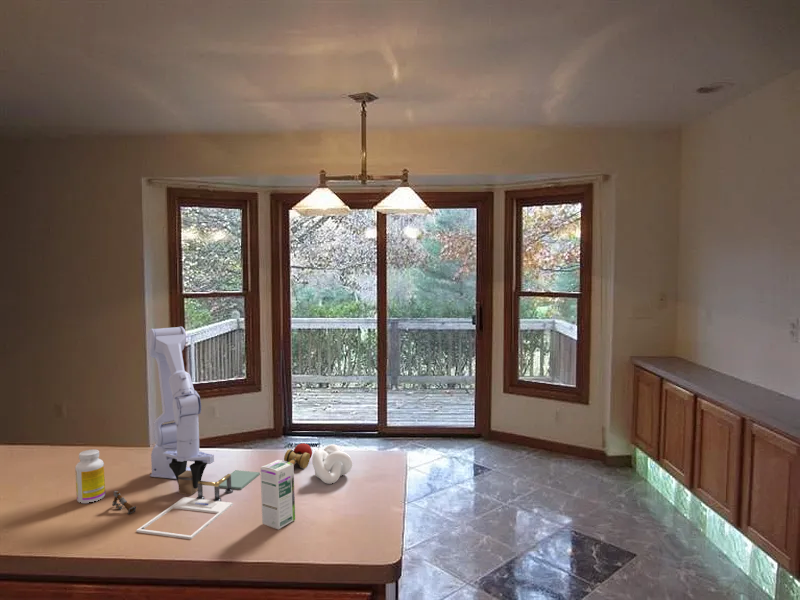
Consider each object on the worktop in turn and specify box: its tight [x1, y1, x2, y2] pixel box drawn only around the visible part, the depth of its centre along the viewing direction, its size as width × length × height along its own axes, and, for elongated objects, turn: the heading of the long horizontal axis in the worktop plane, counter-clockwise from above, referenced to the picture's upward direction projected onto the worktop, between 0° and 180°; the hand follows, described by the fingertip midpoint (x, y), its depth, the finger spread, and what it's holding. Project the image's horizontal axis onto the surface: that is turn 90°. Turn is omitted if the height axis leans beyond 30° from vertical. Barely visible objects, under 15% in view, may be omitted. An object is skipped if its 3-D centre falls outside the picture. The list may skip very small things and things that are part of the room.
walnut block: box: [177, 470, 198, 496], centre depth 148 cm, size 4×4×5 cm
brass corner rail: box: [196, 473, 234, 501], centre depth 145 cm, size 7×8×5 cm
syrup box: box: [259, 459, 296, 530], centre depth 130 cm, size 6×6×14 cm
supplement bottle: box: [74, 449, 106, 504], centre depth 143 cm, size 7×7×13 cm
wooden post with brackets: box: [111, 490, 137, 515], centre depth 137 cm, size 2×8×4 cm, turn 61°
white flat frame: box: [135, 496, 234, 540], centre depth 133 cm, size 15×1×18 cm
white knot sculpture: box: [311, 443, 353, 485], centre depth 156 cm, size 11×12×9 cm
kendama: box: [283, 442, 313, 469], centre depth 164 cm, size 8×6×18 cm
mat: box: [219, 469, 261, 490], centre depth 155 cm, size 8×11×1 cm
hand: (189, 486), depth 148 cm, fingers closed on walnut block, 4 cm apart
